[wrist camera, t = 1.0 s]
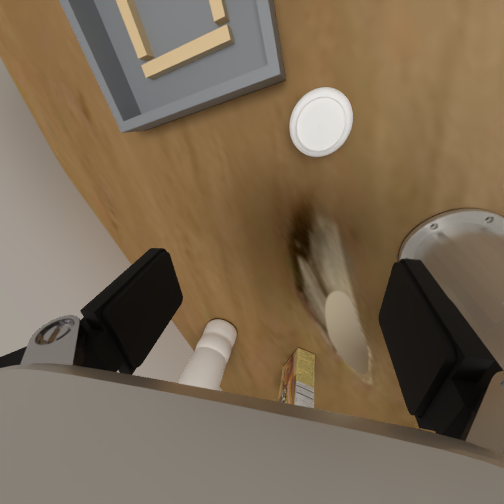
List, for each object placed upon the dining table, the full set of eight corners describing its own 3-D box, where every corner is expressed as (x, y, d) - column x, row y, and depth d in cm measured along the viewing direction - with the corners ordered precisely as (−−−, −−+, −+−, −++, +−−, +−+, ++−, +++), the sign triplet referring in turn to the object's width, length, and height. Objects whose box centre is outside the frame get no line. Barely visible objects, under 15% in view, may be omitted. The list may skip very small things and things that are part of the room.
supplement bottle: (302, 88, 26) (296, 76, 17) (352, 98, 25) (370, 91, 17) (289, 141, 29) (279, 153, 21) (333, 151, 28) (341, 168, 20)
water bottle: (244, 331, 50) (193, 487, 29) (226, 343, 54) (170, 490, 33) (218, 312, 49) (147, 461, 28) (202, 326, 52) (128, 467, 32)
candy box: (298, 373, 53) (293, 456, 40) (281, 366, 53) (270, 446, 41) (315, 353, 48) (315, 440, 36) (296, 345, 48) (290, 429, 36)
